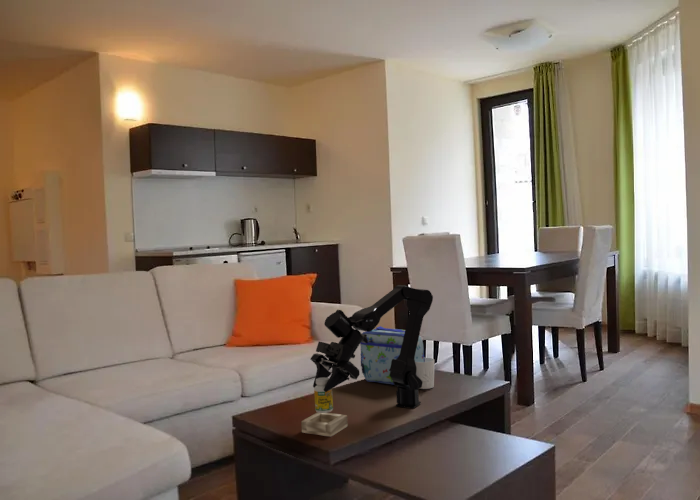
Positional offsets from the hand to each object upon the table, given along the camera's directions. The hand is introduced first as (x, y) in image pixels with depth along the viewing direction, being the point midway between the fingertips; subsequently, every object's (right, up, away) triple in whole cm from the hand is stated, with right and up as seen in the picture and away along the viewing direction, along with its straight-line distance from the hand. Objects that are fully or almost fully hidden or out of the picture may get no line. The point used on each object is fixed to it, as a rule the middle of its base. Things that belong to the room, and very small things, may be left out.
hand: (319, 389), depth 181 cm
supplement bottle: (+1, -7, +1) cm, 7 cm away
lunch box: (+25, -9, +52) cm, 58 cm away
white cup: (+37, -9, +43) cm, 57 cm away
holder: (+2, -12, +1) cm, 12 cm away
